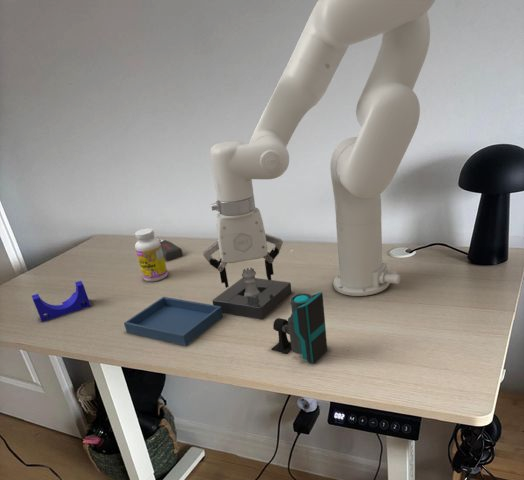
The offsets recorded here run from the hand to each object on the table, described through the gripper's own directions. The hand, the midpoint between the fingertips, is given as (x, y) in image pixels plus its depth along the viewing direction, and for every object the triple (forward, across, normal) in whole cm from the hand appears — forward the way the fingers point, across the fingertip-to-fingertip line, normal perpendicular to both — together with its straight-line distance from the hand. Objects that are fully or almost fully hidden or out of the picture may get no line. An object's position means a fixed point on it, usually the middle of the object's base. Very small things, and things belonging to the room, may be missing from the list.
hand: (247, 281), depth 116 cm
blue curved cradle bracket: (+6, -45, +15) cm, 48 cm away
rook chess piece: (+6, +1, 0) cm, 6 cm away
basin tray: (+6, -18, -4) cm, 19 cm away
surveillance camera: (+5, +6, -24) cm, 26 cm away
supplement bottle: (+6, -23, +26) cm, 35 cm away
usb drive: (+6, -20, +44) cm, 48 cm away
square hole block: (+5, +1, 0) cm, 5 cm away
